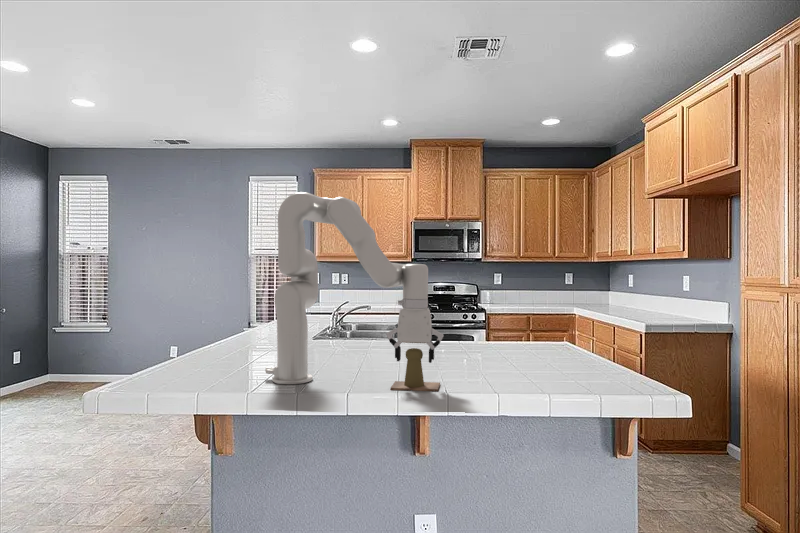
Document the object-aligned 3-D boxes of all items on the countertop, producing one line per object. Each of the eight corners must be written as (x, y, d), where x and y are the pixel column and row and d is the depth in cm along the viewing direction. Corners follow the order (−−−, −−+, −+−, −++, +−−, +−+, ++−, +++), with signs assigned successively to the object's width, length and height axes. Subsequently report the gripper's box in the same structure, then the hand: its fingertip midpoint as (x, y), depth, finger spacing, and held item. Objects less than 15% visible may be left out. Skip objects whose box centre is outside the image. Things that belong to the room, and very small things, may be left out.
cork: (424, 383, 162) (424, 347, 162) (423, 387, 156) (423, 350, 156) (405, 382, 163) (404, 346, 163) (403, 387, 157) (403, 350, 157)
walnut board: (390, 389, 156) (390, 387, 156) (395, 383, 165) (395, 381, 165) (437, 391, 154) (437, 389, 154) (440, 384, 163) (440, 382, 163)
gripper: (384, 304, 157) (384, 362, 157) (443, 306, 154) (442, 364, 155) (389, 303, 164) (388, 358, 164) (444, 304, 162) (443, 360, 162)
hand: (414, 361), depth 160 cm, fingers open, 9 cm apart
